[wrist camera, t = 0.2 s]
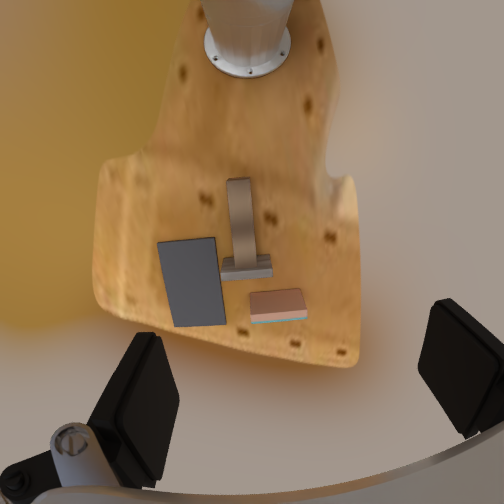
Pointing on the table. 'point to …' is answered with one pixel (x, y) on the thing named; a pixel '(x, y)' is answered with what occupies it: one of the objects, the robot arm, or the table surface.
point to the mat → (192, 282)
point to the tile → (277, 306)
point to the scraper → (243, 236)
